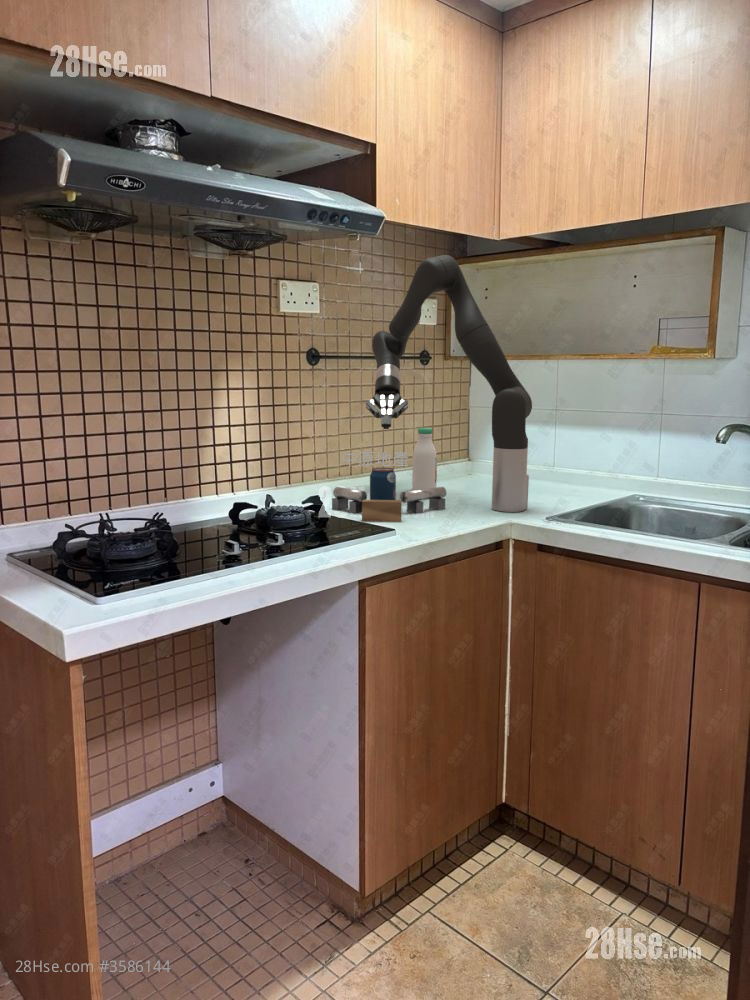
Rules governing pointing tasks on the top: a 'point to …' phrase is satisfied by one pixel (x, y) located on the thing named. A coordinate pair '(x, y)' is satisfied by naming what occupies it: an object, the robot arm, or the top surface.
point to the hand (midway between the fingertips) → (386, 427)
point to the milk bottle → (424, 461)
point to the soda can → (382, 484)
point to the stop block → (381, 510)
